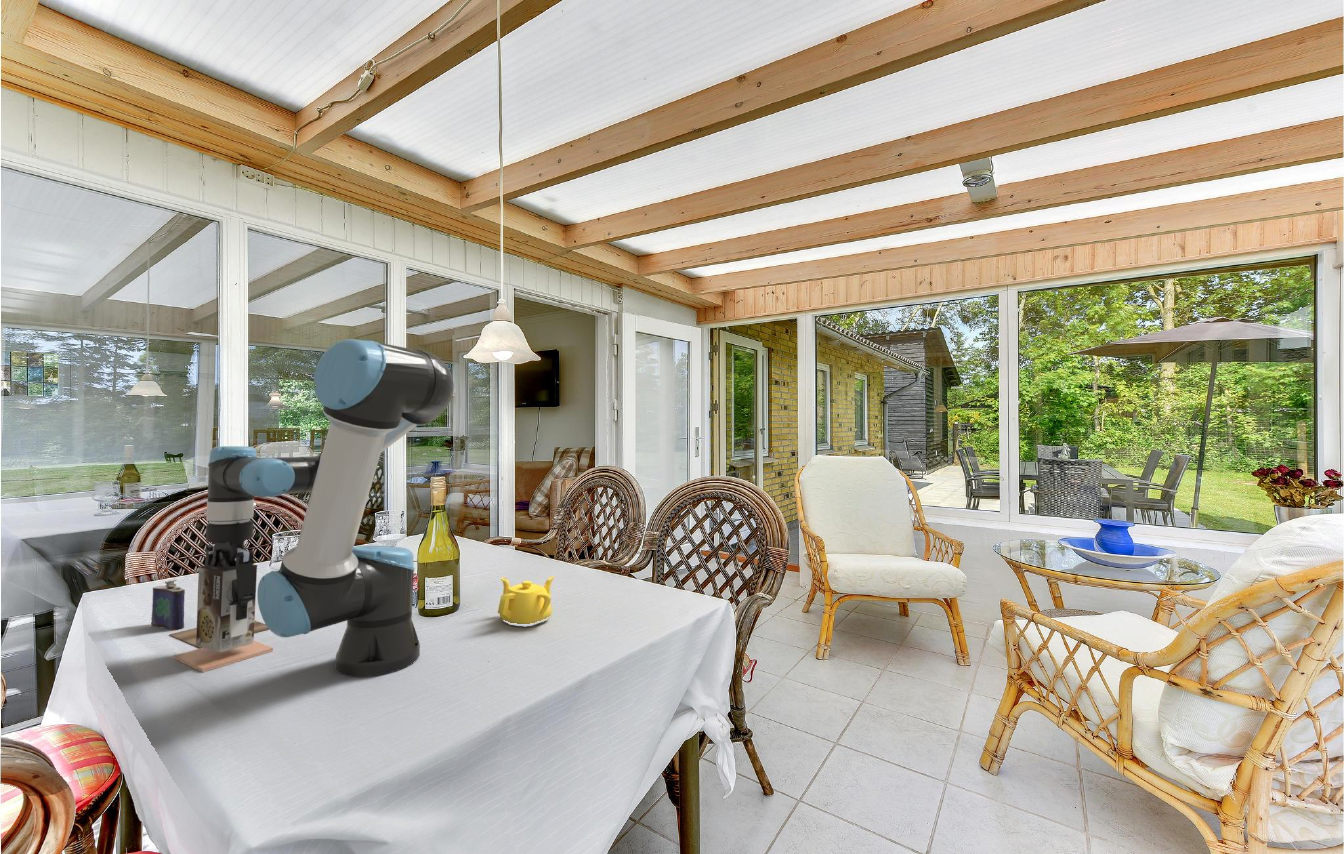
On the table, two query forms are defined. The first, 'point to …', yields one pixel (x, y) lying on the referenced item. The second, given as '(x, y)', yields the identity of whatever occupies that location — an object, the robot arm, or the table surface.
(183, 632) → the mat
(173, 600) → the flask
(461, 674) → the table surface
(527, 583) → the teapot
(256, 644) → the pad
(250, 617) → the printed cardboard box
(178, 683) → the table surface
